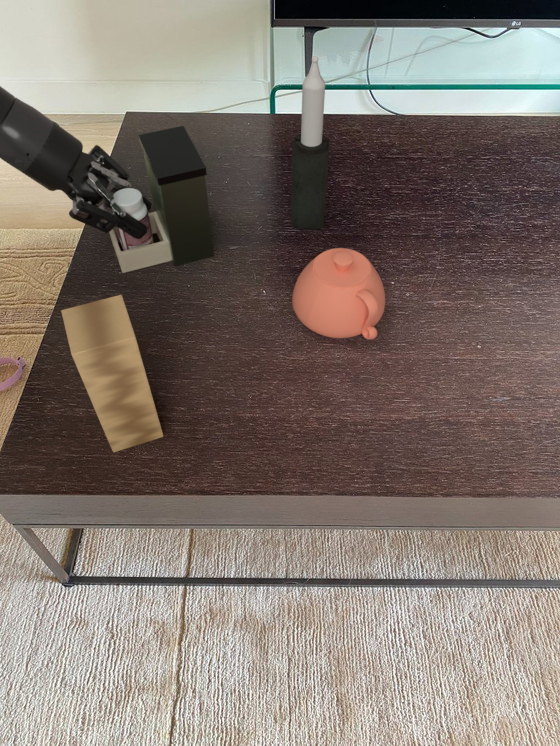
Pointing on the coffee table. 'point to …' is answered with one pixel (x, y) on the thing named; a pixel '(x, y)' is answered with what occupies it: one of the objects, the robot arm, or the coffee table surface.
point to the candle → (310, 156)
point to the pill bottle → (135, 207)
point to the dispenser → (179, 193)
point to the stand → (112, 371)
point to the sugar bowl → (339, 295)
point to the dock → (143, 249)
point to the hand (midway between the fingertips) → (145, 221)
